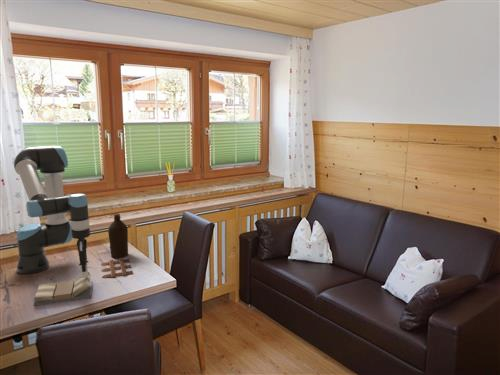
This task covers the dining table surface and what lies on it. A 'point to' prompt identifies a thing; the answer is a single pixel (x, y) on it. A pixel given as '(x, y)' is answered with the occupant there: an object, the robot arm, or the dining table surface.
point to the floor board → (80, 296)
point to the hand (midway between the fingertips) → (84, 277)
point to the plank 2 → (81, 284)
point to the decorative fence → (116, 268)
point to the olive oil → (118, 238)
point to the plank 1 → (45, 292)
